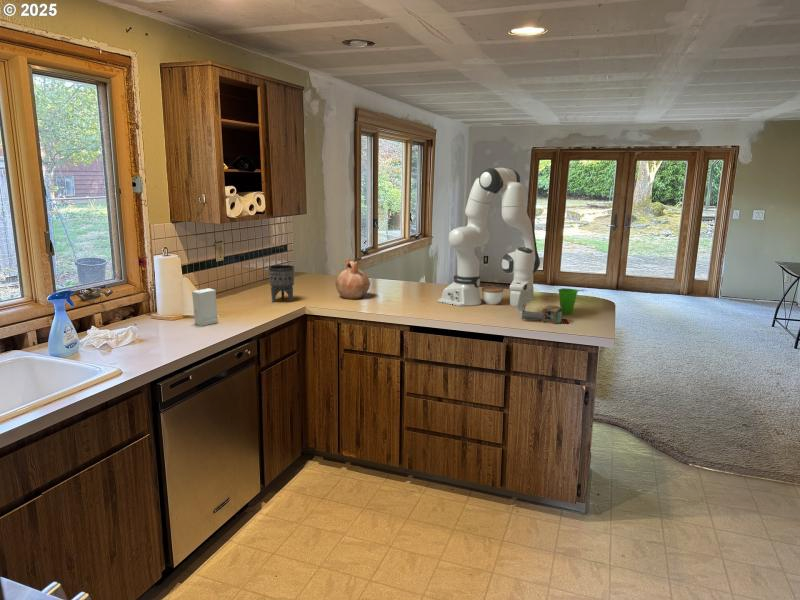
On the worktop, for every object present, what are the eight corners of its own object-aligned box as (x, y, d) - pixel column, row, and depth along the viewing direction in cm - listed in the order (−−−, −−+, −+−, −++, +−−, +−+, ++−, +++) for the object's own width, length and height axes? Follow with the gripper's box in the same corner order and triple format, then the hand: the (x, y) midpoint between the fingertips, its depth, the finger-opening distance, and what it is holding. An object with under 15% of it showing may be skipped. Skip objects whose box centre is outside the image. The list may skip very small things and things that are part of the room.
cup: (561, 310, 274) (562, 287, 272) (579, 313, 269) (581, 290, 266) (553, 313, 268) (554, 290, 265) (571, 316, 262) (573, 293, 260)
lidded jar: (497, 306, 281) (498, 288, 279) (477, 304, 286) (478, 285, 284) (505, 302, 290) (506, 284, 288) (486, 300, 295) (487, 282, 293)
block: (550, 322, 251) (551, 312, 250) (552, 320, 255) (552, 310, 254) (559, 323, 249) (560, 313, 248) (561, 321, 253) (561, 311, 252)
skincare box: (211, 320, 250) (209, 287, 247) (218, 323, 246) (216, 289, 243) (193, 324, 244) (191, 290, 241) (200, 326, 240) (198, 292, 237)
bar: (521, 318, 257) (522, 312, 257) (523, 317, 260) (523, 310, 259) (550, 321, 252) (551, 315, 251) (552, 320, 255) (552, 313, 254)
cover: (542, 322, 251) (543, 308, 250) (548, 318, 258) (548, 305, 257) (555, 324, 248) (556, 310, 247) (561, 320, 255) (562, 306, 253)
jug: (374, 299, 296) (374, 261, 292) (341, 301, 290) (340, 263, 285) (363, 292, 313) (363, 256, 309) (332, 294, 306) (331, 258, 302)
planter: (277, 304, 282) (275, 269, 278) (265, 300, 292) (263, 266, 288) (300, 301, 290) (299, 267, 286) (287, 297, 300) (286, 264, 296)
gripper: (524, 279, 267) (523, 308, 270) (508, 286, 250) (506, 316, 253) (537, 280, 264) (536, 309, 267) (521, 287, 247) (520, 318, 250)
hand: (521, 313), depth 260 cm, fingers closed
